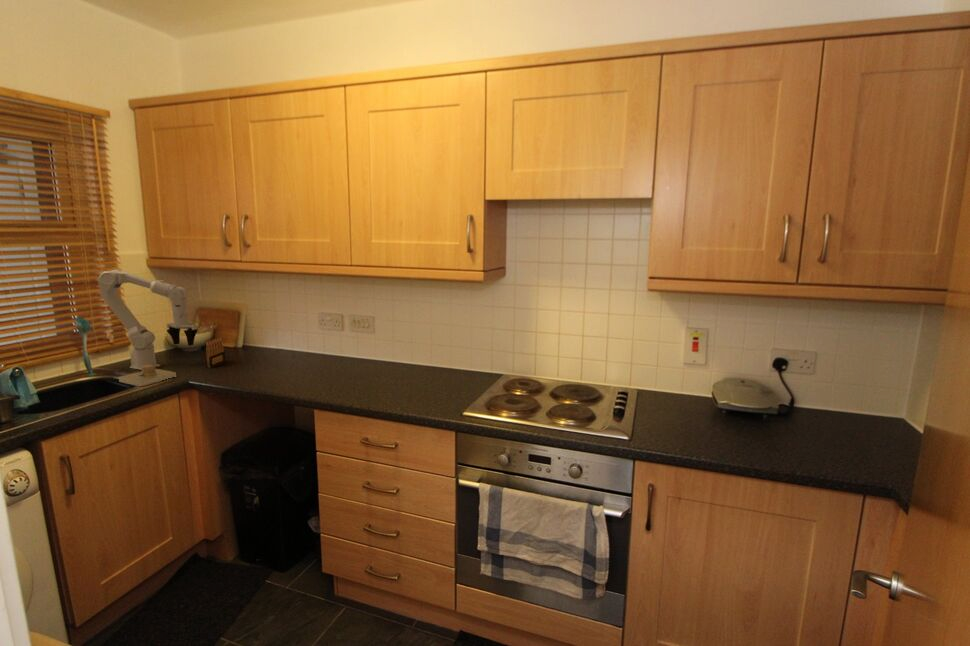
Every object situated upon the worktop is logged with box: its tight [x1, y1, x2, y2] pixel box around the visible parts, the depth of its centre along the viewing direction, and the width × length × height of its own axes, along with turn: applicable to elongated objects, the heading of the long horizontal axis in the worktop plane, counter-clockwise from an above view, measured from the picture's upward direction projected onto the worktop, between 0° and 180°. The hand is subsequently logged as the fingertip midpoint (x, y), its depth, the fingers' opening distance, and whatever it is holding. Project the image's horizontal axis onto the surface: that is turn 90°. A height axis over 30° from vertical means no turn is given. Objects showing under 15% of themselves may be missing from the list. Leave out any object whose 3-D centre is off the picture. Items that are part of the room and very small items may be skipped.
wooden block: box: [141, 365, 156, 377], centre depth 202 cm, size 3×3×6 cm
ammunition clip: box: [205, 336, 227, 369], centre depth 223 cm, size 11×2×12 cm, turn 172°
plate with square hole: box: [118, 368, 177, 387], centre depth 202 cm, size 14×14×2 cm
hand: (183, 344), depth 222 cm, fingers open, 7 cm apart
